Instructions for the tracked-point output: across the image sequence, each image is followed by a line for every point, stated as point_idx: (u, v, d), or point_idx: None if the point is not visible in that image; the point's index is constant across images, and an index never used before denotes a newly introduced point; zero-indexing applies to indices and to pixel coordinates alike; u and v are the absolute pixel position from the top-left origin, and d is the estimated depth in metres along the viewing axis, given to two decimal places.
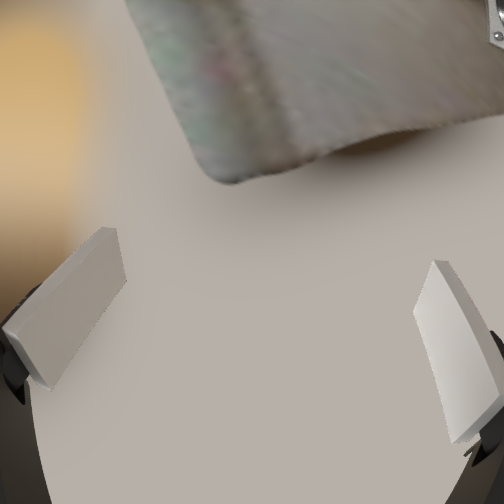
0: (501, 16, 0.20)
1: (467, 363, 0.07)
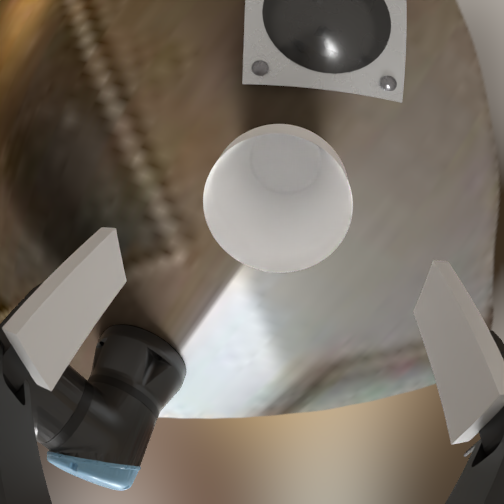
0: (347, 68, 0.22)
1: (467, 363, 0.07)
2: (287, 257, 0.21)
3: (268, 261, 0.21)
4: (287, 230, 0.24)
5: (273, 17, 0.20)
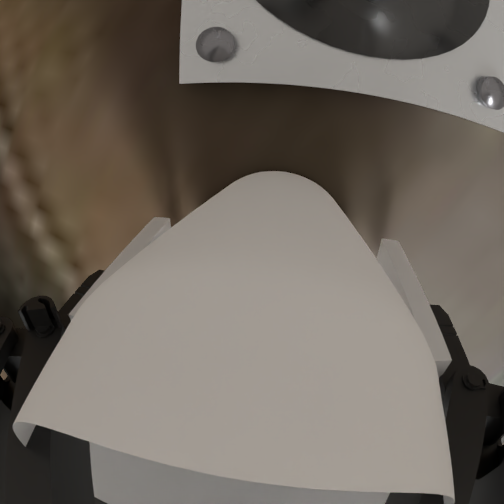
0: (415, 49, 0.08)
1: None
2: (264, 495, 0.08)
3: None
4: None
5: None
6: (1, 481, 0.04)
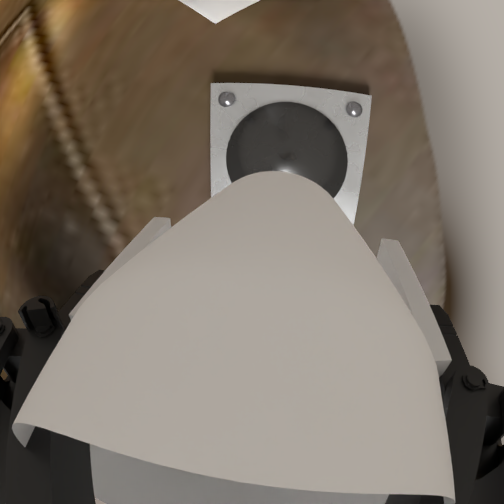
0: None
1: None
2: (264, 496, 0.08)
3: None
4: None
5: (236, 164, 0.28)
6: (1, 481, 0.04)
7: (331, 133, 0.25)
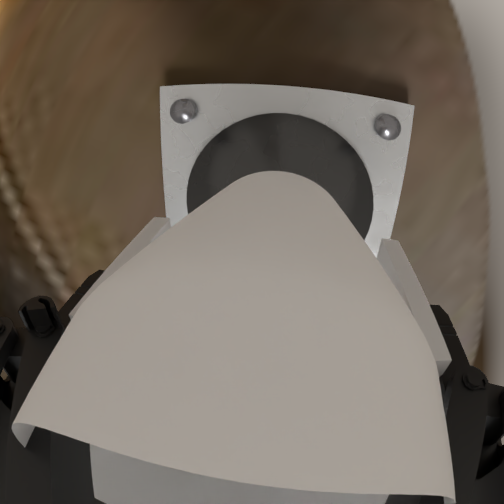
0: None
1: None
2: (264, 496, 0.08)
3: None
4: None
5: None
6: (1, 481, 0.04)
7: (350, 165, 0.16)
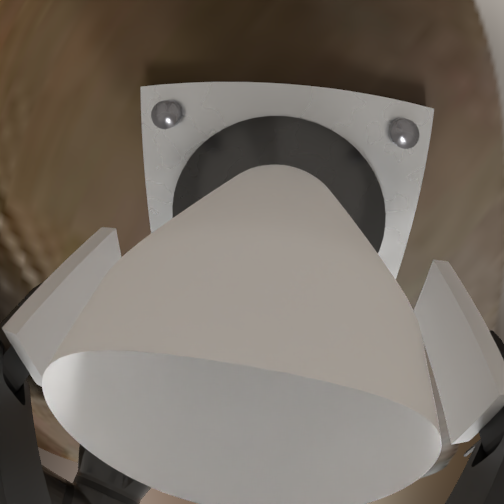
0: None
1: (468, 363, 0.07)
2: (267, 465, 0.09)
3: (229, 476, 0.09)
4: (273, 386, 0.12)
5: None
6: None
7: (360, 177, 0.14)
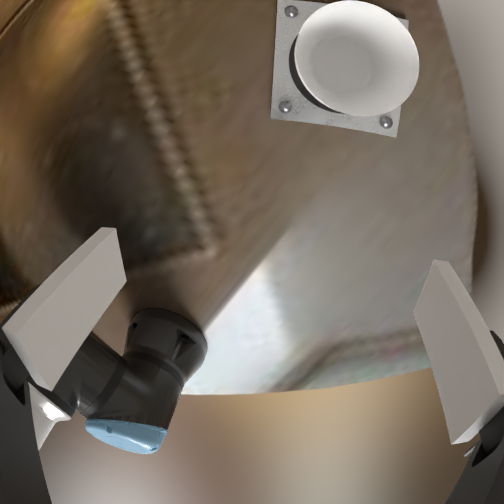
0: None
1: (467, 363, 0.07)
2: None
3: None
4: (353, 107, 0.23)
5: None
6: None
7: None
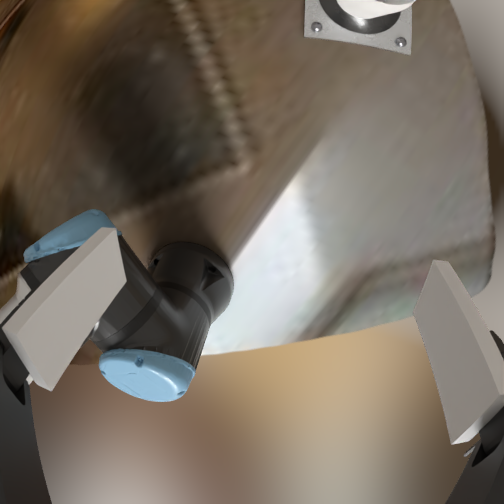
0: (374, 31, 0.29)
1: (467, 363, 0.07)
2: None
3: None
4: (377, 14, 0.23)
5: None
6: None
7: None
